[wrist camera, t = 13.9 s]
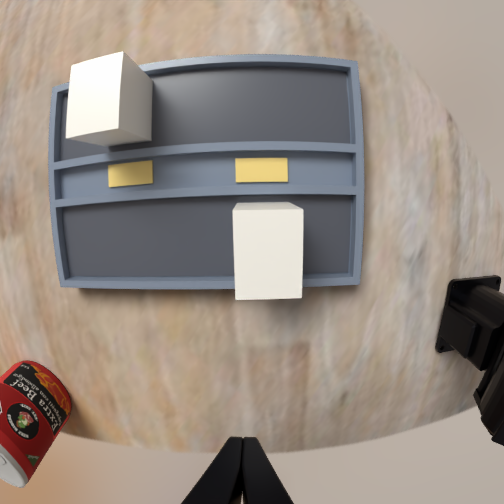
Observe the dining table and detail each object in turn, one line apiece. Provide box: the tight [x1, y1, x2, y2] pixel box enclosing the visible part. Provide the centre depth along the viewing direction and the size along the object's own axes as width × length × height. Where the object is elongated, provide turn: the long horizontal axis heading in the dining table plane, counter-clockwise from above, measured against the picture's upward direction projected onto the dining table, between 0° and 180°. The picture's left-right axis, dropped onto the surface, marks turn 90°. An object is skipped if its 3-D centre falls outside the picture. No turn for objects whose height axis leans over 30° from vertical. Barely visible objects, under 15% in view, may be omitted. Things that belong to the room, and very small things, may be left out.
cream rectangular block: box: [66, 52, 153, 147], centre depth 14 cm, size 3×4×5 cm
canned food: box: [0, 360, 71, 488], centre depth 17 cm, size 8×8×11 cm
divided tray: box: [48, 54, 364, 289], centre depth 18 cm, size 20×14×2 cm
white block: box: [232, 202, 303, 300], centre depth 16 cm, size 3×4×5 cm
